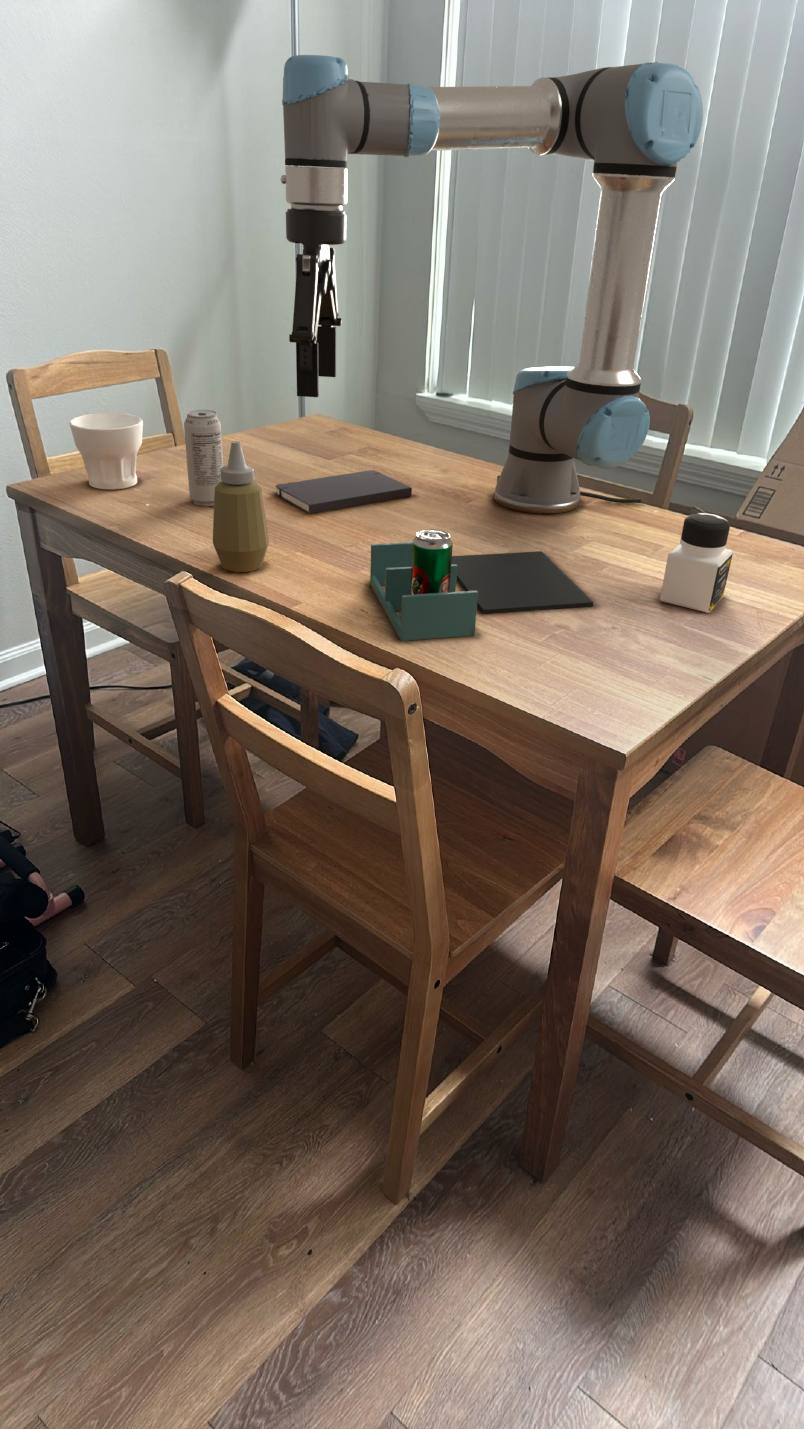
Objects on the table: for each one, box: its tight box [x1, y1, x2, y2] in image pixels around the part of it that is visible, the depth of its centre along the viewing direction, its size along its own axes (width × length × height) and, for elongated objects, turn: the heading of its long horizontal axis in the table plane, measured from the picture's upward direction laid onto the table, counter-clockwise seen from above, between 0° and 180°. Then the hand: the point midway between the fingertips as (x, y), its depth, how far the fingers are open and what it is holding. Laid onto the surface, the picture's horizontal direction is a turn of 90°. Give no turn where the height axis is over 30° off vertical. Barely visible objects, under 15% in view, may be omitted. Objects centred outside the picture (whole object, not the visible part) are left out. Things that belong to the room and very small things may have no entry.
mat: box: [451, 550, 594, 614], centre depth 137 cm, size 16×20×1 cm
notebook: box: [274, 469, 413, 514], centre depth 170 cm, size 13×2×21 cm
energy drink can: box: [183, 409, 224, 507], centre depth 160 cm, size 6×6×15 cm
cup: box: [68, 412, 144, 491], centre depth 169 cm, size 12×12×11 cm
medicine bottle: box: [659, 512, 734, 614], centre depth 131 cm, size 7×7×12 cm
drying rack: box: [369, 541, 478, 642], centre depth 126 cm, size 10×19×6 cm, turn 14°
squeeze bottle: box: [212, 440, 270, 573], centre depth 134 cm, size 8×8×18 cm
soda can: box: [410, 528, 454, 595], centre depth 121 cm, size 5×5×12 cm
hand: (317, 386), depth 128 cm, fingers open, 13 cm apart
